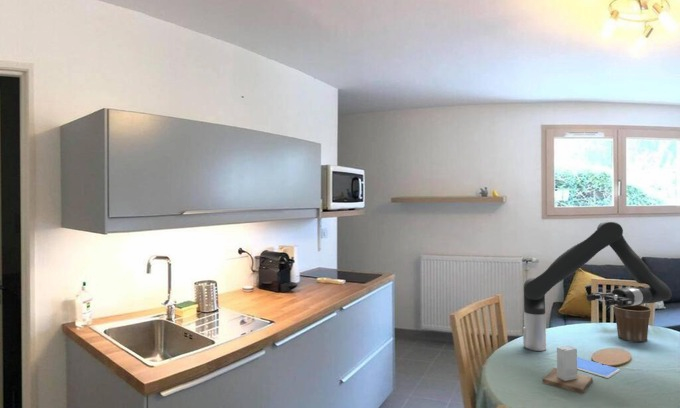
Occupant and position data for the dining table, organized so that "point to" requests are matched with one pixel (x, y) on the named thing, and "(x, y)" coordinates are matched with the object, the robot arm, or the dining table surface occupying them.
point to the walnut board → (574, 385)
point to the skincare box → (567, 363)
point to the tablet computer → (596, 368)
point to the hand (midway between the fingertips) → (596, 300)
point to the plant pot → (632, 322)
